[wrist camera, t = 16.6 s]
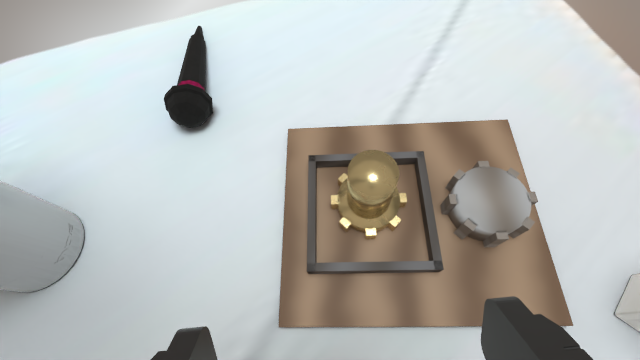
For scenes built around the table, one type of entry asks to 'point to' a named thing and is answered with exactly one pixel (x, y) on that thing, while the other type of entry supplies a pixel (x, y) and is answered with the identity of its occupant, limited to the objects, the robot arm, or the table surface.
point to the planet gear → (369, 194)
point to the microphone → (190, 87)
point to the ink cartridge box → (630, 303)
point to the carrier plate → (415, 231)
